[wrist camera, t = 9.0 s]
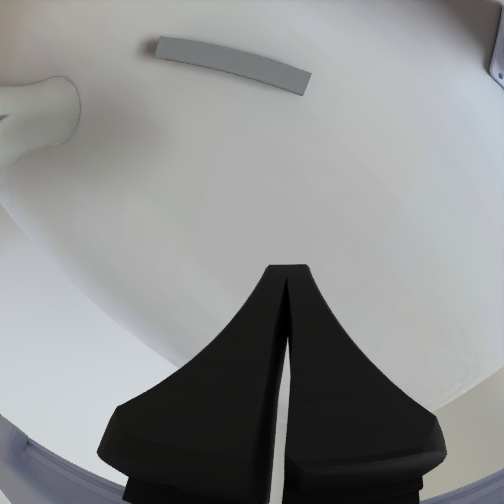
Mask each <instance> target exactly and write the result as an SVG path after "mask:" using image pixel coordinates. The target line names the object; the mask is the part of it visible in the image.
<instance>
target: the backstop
mask: <svg viewBox="0 0 504 504" xmlns="http://www.w3.org/2000/svg"><path fill="white" fill-rule="evenodd" d="M154 57H155V58H160V59H165V60H171V61H177V62H182V63H188V64H193V65H198V66H203V67H207V68H212V69H216V70H220V71H224V72H228V73H232V74H236V75H239V76H243V77H246V78H250V79H253V80H257V81H260V82H263V83H266V84H269V85H273V86H276V87H279V88H281V89H284V90H287V91H290V92H293V93H296V94H298V95H301V96H303V95H304V92H305V90H306V87H307V84H308V82H309V79H310V77H311V74H312V73H309V72H306V71H304V70H301V69H298V68H295V67H292V66H289V65H287V64H284V63H280V62H277V61H274V60H271V59H268V58H264V57H261V56H257V55H254V54H250V53H246V52H243V51H239V50H235V49H230V48H226V47H221V46H217V45H212V44H207V43H201V42H196V41H190V40H183V39H177V38H169V37H160V39H159V42H158V45H157V49H156V52H155V55H154Z"/></svg>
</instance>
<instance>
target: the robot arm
mask: <svg viewBox="0 0 504 504" xmlns="http://www.w3.org/2000/svg"><path fill="white" fill-rule="evenodd" d="M489 70H490V74H491V76H492V77H493V78H494V79H495V80H496V81H497V82H498V83H499V84H500V85H501V86H502V87H503V88H504V6H503V7H502V13H501V19H500V25H499V30H498V35H497V40H496V44H495V49H494V53H493V57H492V61H491V64H490V69H489ZM498 75H500V78H499V76H498ZM287 339H288V343H289V359H290V376H291V378H290V394H289V408H288V421H287V433H286V444H285V460H284V463H285V464H284V488H283V498H282V504H504V468H503V469H501V470H499V471H497V472H495V473H493V474H491V475H489V476H487V477H485V478H483V479H480V480H478V481H476V482H474V483H471V484H469V485H466V486H464V487H461V488H459V489H456V490H454V491H451V492H448V493H445V494H442V495H439V496H436V497H433V498H430V499H426V500H423V501H419V490H421V489H422V488H423V478H422V476H423V475H425V474H426V473H428V472H429V471H431V470H432V469H434V468H435V467H437V466H438V465H439V464H440V463H442V462H443V461H444V459H445V457H446V455H447V451H446V445H445V440H444V437H443V433H442V430H441V428H440V425H439V422H438V420H437V417H436V416H435V415H433V414H432V413H431V412H429V411H428V410H426V409H425V408H424V407H422V406H421V405H420V404H418V403H417V402H415V401H414V400H413V399H412V398H410V397H409V396H408V395H406V394H405V393H404V392H403V391H402V390H401V389H400V388H398V387H397V386H396V385H395V384H394V383H393V382H391V381H390V380H389V379H388V378H387V377H386V376H385V375H384V374H383V373H382V372H381V371H380V370H379V369H378V368H377V367H376V366H375V365H374V364H373V363H372V362H371V361H370V360H369V359H368V358H367V357H366V355H365V354H364V353H363V352H362V351H361V350H360V349H359V348H358V346H357V345H356V344H355V343H354V342H353V340H352V339H351V338H350V337H349V335H348V334H347V333H346V331H345V330H344V329H343V327H342V326H341V325H340V323H339V322H338V320H337V319H336V317H335V316H334V314H333V313H332V311H331V310H330V308H329V307H328V305H327V303H326V301H325V300H324V298H323V296H322V295H321V293H320V291H319V289H318V287H317V285H316V283H315V281H314V279H313V277H312V274H311V271H310V268H309V267H308V266H307V265H306V264H297V265H269V266H268V267H267V268H266V269H265V272H264V274H263V275H262V277H261V279H260V281H259V282H258V284H257V286H256V287H255V289H254V290H253V292H252V293H251V295H250V296H249V298H248V299H247V301H246V302H245V303H244V305H243V306H242V307H241V309H240V310H239V311H238V312H237V314H236V315H235V316H234V317H233V319H232V320H231V321H230V322H229V323H228V325H227V326H226V327H225V328H224V329H223V330H222V331H221V332H220V333H219V334H218V335H217V337H216V338H215V339H214V340H213V341H212V342H211V343H209V344H208V345H207V346H206V347H205V348H204V349H203V350H202V351H201V352H200V353H198V354H197V355H196V356H195V357H194V358H193V359H192V360H190V361H189V362H188V363H187V364H185V365H184V366H183V367H182V368H180V369H179V370H177V371H176V372H175V373H173V374H172V375H170V376H169V377H167V378H166V379H165V380H163V381H162V382H160V383H159V384H157V385H156V386H154V387H153V388H151V389H149V390H148V391H146V392H144V393H142V394H140V395H139V396H137V397H135V398H133V399H131V400H129V401H127V402H126V403H124V404H122V405H120V406H117V408H116V409H115V411H114V413H113V415H112V417H111V418H110V421H109V423H108V425H107V428H106V430H105V432H104V435H103V437H102V440H101V442H100V445H99V447H98V450H97V454H98V456H99V457H100V458H101V459H102V460H103V461H104V462H106V463H107V464H108V465H110V466H112V467H113V468H115V469H116V470H118V471H120V472H121V473H123V474H125V475H126V476H128V477H129V478H128V481H127V484H126V487H124V486H122V485H119V484H117V483H114V482H112V481H109V480H107V479H105V478H102V477H100V476H98V475H96V474H93V473H91V472H89V471H87V470H85V469H83V468H81V467H79V466H77V465H75V464H73V463H71V462H69V461H67V460H65V459H63V458H62V457H60V456H58V455H56V454H55V453H53V452H51V451H50V450H48V449H46V448H45V447H43V446H41V445H40V444H38V443H37V442H35V441H34V440H32V439H30V438H29V437H28V436H27V435H26V434H25V433H24V432H22V431H21V430H20V429H19V428H17V427H16V426H15V425H14V424H12V423H11V422H10V421H8V420H7V419H6V418H4V417H3V416H2V415H1V414H0V489H1V491H2V492H3V493H4V494H5V496H6V497H7V498H8V499H9V501H10V502H11V503H12V504H269V502H270V492H271V480H272V469H273V458H274V445H275V434H276V421H277V408H278V397H279V389H280V384H281V378H282V372H283V365H284V359H285V353H286V346H287Z"/></svg>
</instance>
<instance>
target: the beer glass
mask: <svg viewBox="0 0 504 504" xmlns="http://www.w3.org/2000/svg"><path fill="white" fill-rule="evenodd" d="M79 115H80V100H79V95H78V92H77V89H76V87H75V86H74V84H73V83H72V82H71V81H70V80H69V79H67V78H65V77H61V76H57V77H52V78H50V79H47V80H44V81H42V82H39V83H36V84H32V85H27V86H0V173H1V172H2V171H4V170H5V169H6V168H7V167H9V166H10V165H11V164H12V163H14V162H15V161H16V160H18V159H19V158H21V157H22V156H24V155H25V154H27V153H29V152H31V151H33V150H36V149H40V148H47V147H54V146H58V145H61V144H63V143H65V142H66V141H67V140H68V139H69V138H70V137H71V136H72V134H73V133H74V131H75V129H76V126H77V124H78V120H79Z"/></svg>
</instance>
